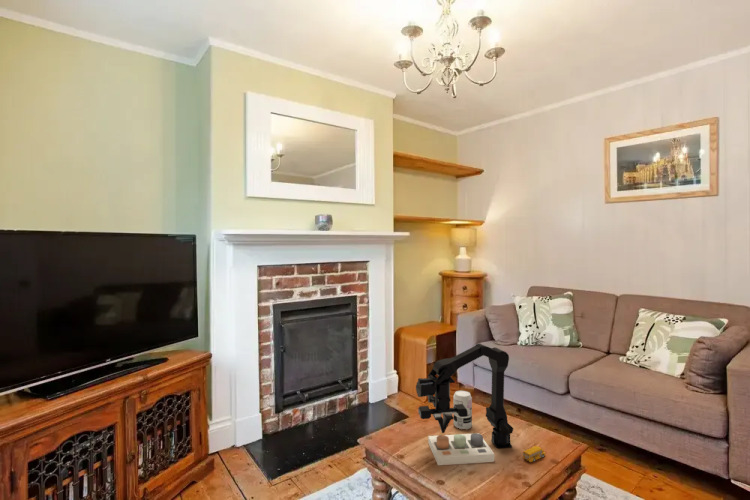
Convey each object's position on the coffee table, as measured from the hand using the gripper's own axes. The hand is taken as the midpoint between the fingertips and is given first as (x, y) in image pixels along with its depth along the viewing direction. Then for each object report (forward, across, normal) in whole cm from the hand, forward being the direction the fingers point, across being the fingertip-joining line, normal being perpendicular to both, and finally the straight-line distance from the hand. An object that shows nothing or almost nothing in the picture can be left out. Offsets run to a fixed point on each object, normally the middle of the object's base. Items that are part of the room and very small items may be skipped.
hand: (442, 432), depth 153 cm
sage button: (+5, -7, 0) cm, 9 cm away
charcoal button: (+5, -14, 0) cm, 15 cm away
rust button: (+5, 0, 0) cm, 5 cm away
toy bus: (+9, -34, +7) cm, 36 cm away
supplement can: (+9, -15, -21) cm, 27 cm away
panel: (+8, -7, 0) cm, 11 cm away
